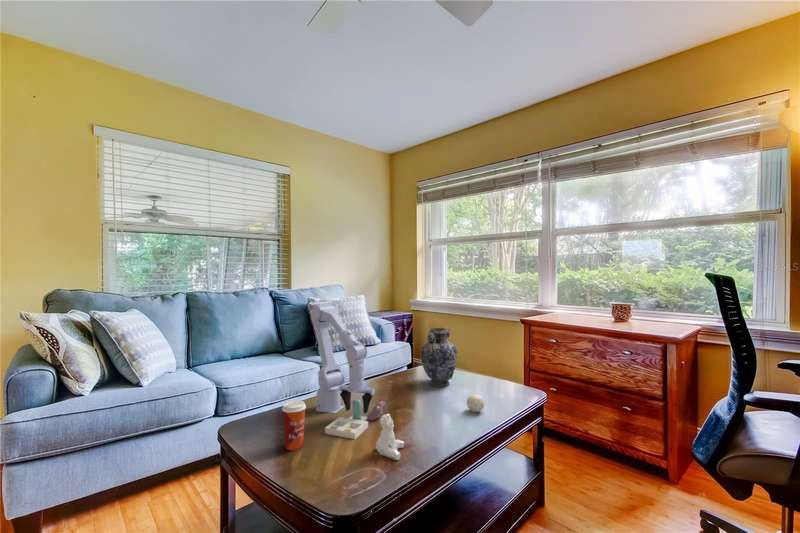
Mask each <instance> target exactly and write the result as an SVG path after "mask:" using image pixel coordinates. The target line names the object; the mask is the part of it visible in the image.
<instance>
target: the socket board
mask: <svg viewBox="0 0 800 533" xmlns="http://www.w3.org/2000/svg"><path fill="white" fill-rule="evenodd" d="M368 428H369V420H365V421H363V420H356V419H350V417H343V416H339V417H337V418H335V420H333V421H332V422H330V423H329V424H328V425H327V426H326V427H324V434H325V435H330V436H336V437H341V438H347V439H353V440H356V439H357V438H358V437H359V436H361V434H363V432H364V431H365V430H366V429H368Z"/></svg>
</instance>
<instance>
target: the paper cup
mask: <svg viewBox="0 0 800 533" xmlns="http://www.w3.org/2000/svg"><path fill="white" fill-rule="evenodd" d="M306 408H307V405H306V403H305V402H304V401H303V400H299V399H296V400H290V401H287V402H285V403H284V404H283V405H282V408H281V411H282V414H283V417H282V418H283V430H284V432H283V434H284V444H285V449H286V450H287V451H297V450H300V449H301V448H302V447H303V446H304V439H305V422H306V421H305V420H306Z"/></svg>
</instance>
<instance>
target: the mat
mask: <svg viewBox="0 0 800 533" xmlns="http://www.w3.org/2000/svg"><path fill="white" fill-rule="evenodd" d="M367 417H368V416H366V415H365V416H364V415H361V420H363V421H367V420H368V419H367ZM349 418H350V419H353V414H352V415H351V416H349Z"/></svg>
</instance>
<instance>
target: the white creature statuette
mask: <svg viewBox="0 0 800 533" xmlns="http://www.w3.org/2000/svg"><path fill="white" fill-rule="evenodd" d="M379 419H380V420H379V424H380V426H381V431H380V436H379V437H378V439H377V441H376V443H375V449H376V451H377V452H378V453H379V454H380V455H381V456H383V457H387V458H388V459H389V458H390V459H392V460H394V461H399V460H401V453H400V452H399V449H404V447H405V442H404V441H403V440H400V439H398V438H397V439H396V436H395V433H394V427H395V425H394V420H393V419H392V417H391V414H390V413H385V414H382V415H381V416H380V418H379Z"/></svg>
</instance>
